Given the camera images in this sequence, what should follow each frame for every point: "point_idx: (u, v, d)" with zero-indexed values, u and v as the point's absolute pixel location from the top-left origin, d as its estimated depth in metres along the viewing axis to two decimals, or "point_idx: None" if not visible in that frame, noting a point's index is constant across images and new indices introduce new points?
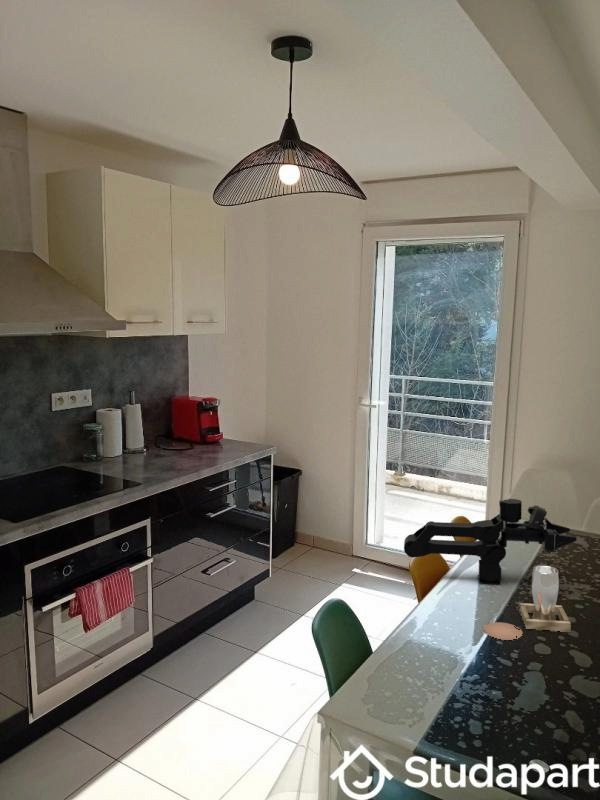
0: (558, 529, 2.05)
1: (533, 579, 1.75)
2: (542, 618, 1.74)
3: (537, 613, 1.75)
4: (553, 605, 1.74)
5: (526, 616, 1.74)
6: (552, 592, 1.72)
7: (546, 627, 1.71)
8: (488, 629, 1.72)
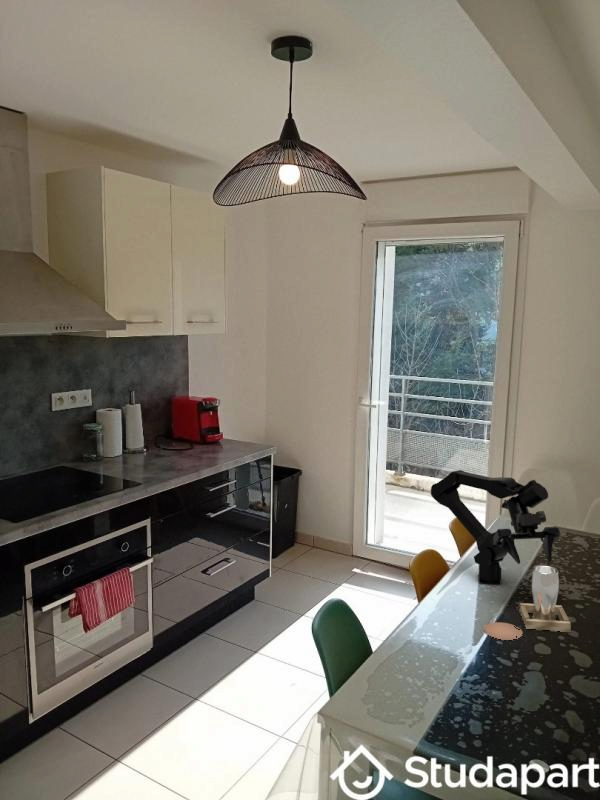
0: (547, 550, 1.86)
1: (533, 579, 1.75)
2: (542, 618, 1.74)
3: (537, 613, 1.75)
4: (553, 605, 1.74)
5: (526, 616, 1.74)
6: (552, 592, 1.72)
7: (546, 627, 1.71)
8: (488, 629, 1.72)
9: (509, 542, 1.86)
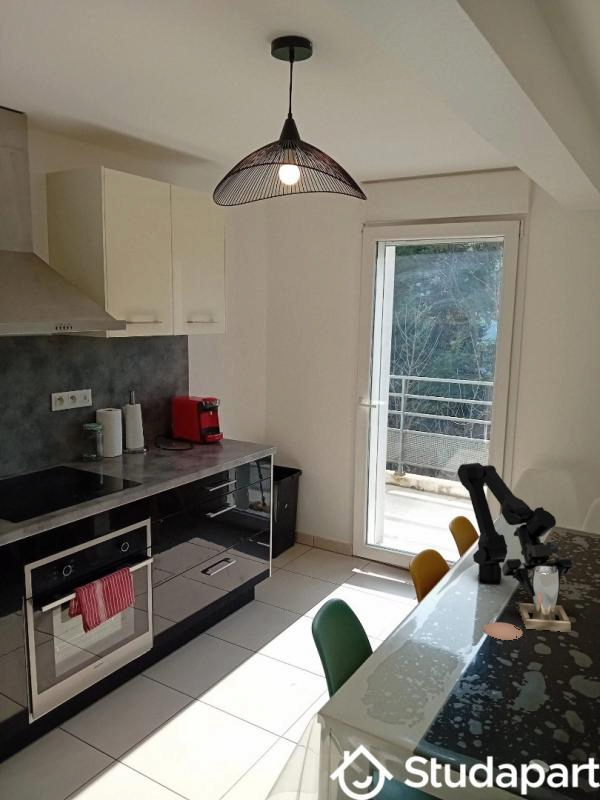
0: None
1: (533, 579, 1.75)
2: (542, 618, 1.74)
3: (537, 613, 1.75)
4: (553, 605, 1.74)
5: (526, 616, 1.74)
6: (552, 592, 1.72)
7: (546, 627, 1.71)
8: (488, 629, 1.72)
9: (523, 573, 1.78)
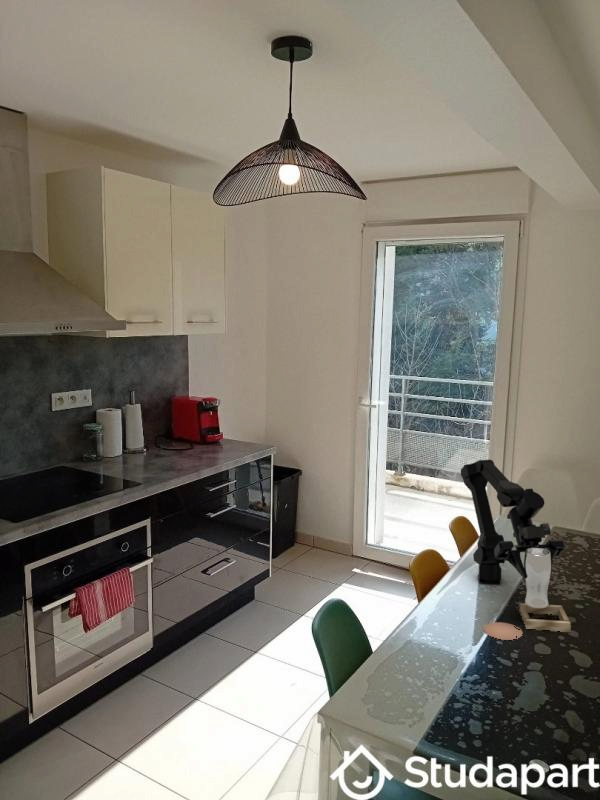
0: None
1: (525, 561, 1.73)
2: (535, 600, 1.72)
3: (529, 595, 1.74)
4: (546, 587, 1.72)
5: (526, 616, 1.74)
6: (544, 574, 1.71)
7: (546, 627, 1.71)
8: (488, 629, 1.72)
9: (515, 555, 1.76)
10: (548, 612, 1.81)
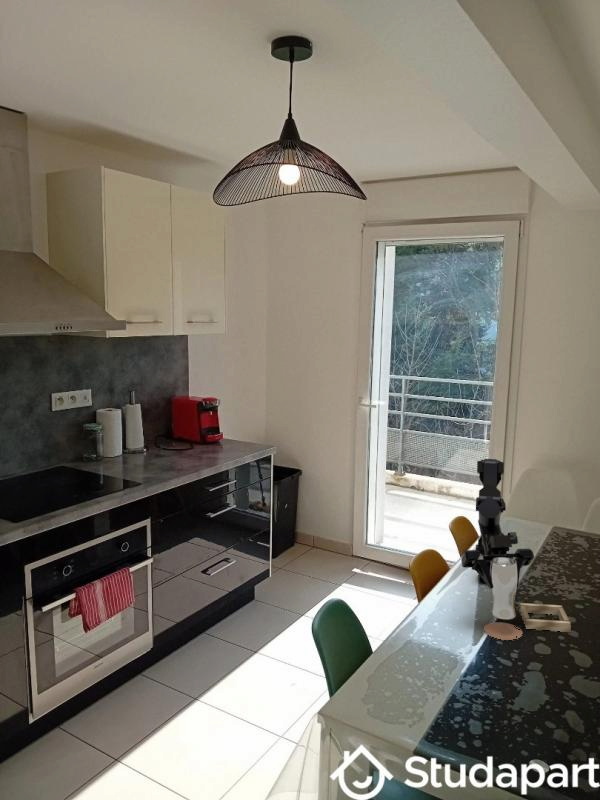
0: None
1: (491, 571, 1.69)
2: (501, 611, 1.68)
3: (496, 606, 1.69)
4: (512, 597, 1.68)
5: (526, 616, 1.74)
6: (510, 584, 1.66)
7: (546, 627, 1.71)
8: (488, 629, 1.72)
9: (481, 565, 1.72)
10: (548, 612, 1.81)
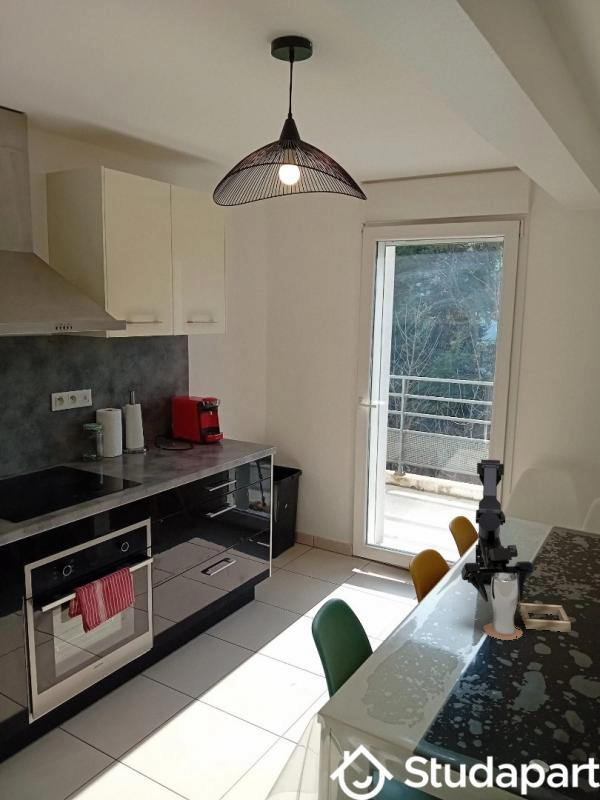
0: (518, 587, 1.72)
1: (492, 586, 1.70)
2: (501, 627, 1.69)
3: (496, 621, 1.70)
4: (512, 613, 1.68)
5: (526, 616, 1.74)
6: (511, 600, 1.67)
7: (546, 627, 1.71)
8: (488, 629, 1.72)
9: (477, 578, 1.72)
10: (548, 612, 1.81)
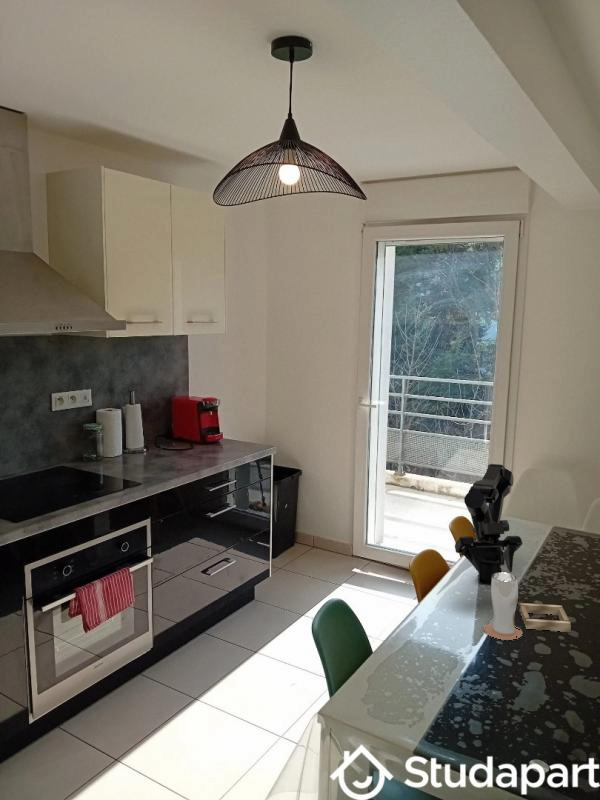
0: (507, 560, 1.83)
1: (492, 586, 1.70)
2: (501, 627, 1.69)
3: (496, 621, 1.70)
4: (512, 613, 1.68)
5: (526, 616, 1.74)
6: (511, 600, 1.67)
7: (546, 627, 1.71)
8: (488, 629, 1.72)
9: (471, 550, 1.82)
10: (548, 612, 1.81)
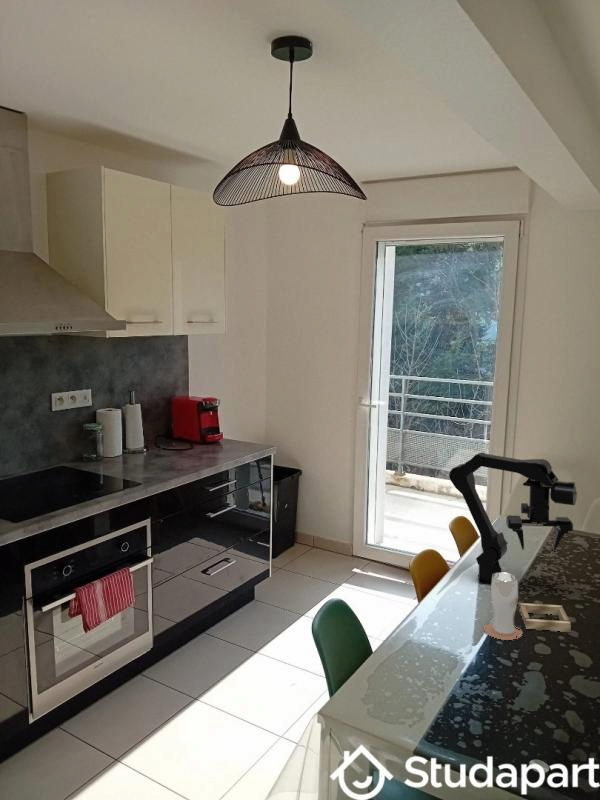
0: None
1: (492, 586, 1.70)
2: (501, 627, 1.69)
3: (496, 621, 1.70)
4: (512, 613, 1.68)
5: (526, 616, 1.74)
6: (511, 600, 1.67)
7: (546, 627, 1.71)
8: (488, 629, 1.72)
9: None
10: (548, 612, 1.81)
